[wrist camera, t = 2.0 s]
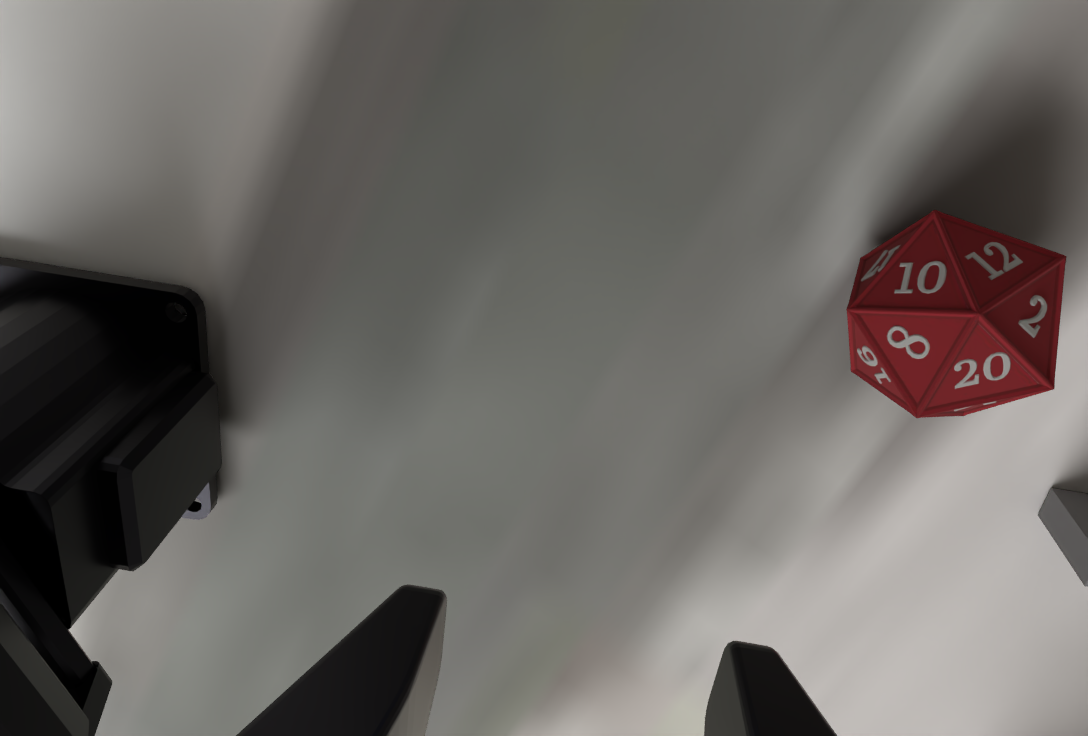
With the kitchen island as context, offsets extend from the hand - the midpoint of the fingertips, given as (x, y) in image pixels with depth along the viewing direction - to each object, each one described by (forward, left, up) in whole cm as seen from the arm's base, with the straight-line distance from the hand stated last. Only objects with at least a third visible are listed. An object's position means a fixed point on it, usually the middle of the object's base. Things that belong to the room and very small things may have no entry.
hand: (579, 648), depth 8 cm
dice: (+6, 0, -12) cm, 14 cm away
